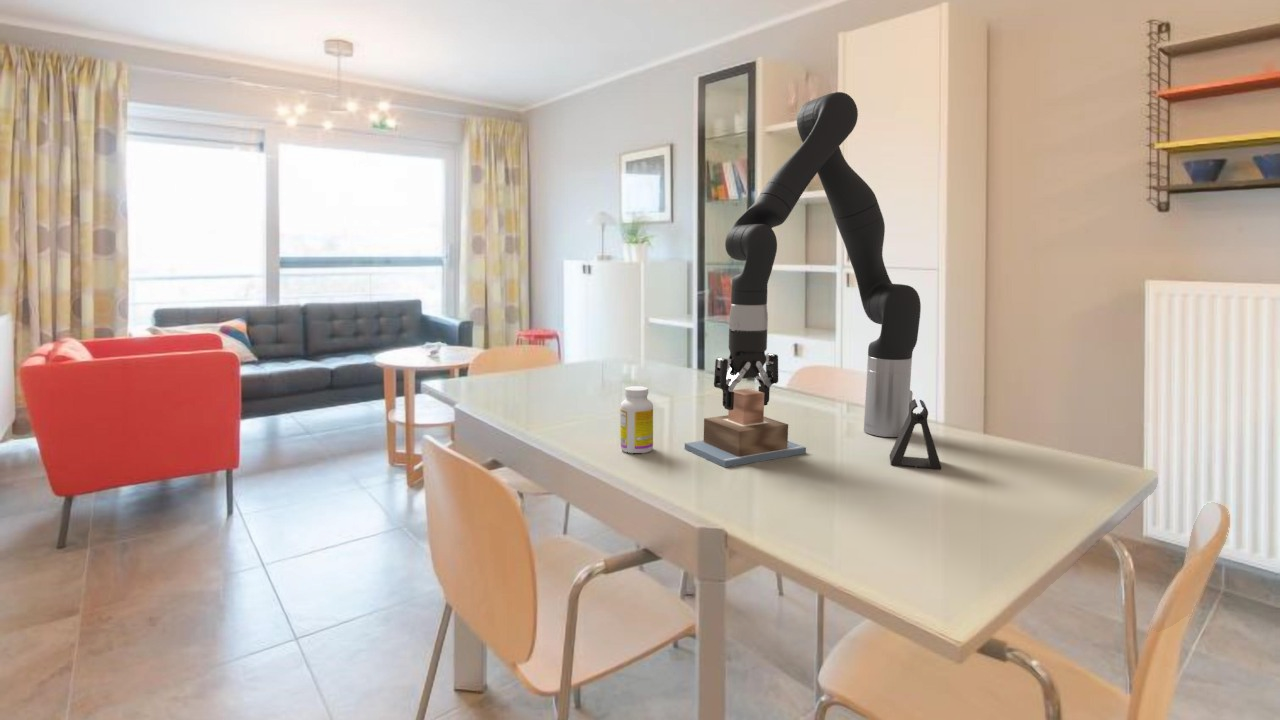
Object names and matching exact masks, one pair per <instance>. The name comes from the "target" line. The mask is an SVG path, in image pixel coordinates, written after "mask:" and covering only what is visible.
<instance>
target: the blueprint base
mask: <svg viewBox="0 0 1280 720" xmlns="http://www.w3.org/2000/svg"><path fill="white" fill-rule="evenodd" d="M788 438H789V424H788V423H785V422H782V421H779V420H776V419H772V418H769V417H767V416H764V419H763V422H761V423H754V424H747V425H742V424H739V423H736V422H733V421H731V420H728V415H720V416H713V417H705V418H703V440H698V441H697V440H696V441H691V442H685V443H684V450H686V451H688V452H691V453H692V454H695V455H697V456H699V457H701V458H703V459H705V460H707V461H709V462H712V463H714V464H716V465H719V466H721V467H723V468H729V467H736V466H741V465H745V464H746V465H747V464H750V463H751V464H752V463H757V462H763V461H771V460H774V459H776V460H777V459H781V458H786V457H787V458H788V457H791V456H797V455H803V454H807V447H806V446H803V445H801V444H797V443H794V442H792V441H789V440H788Z"/></svg>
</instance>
